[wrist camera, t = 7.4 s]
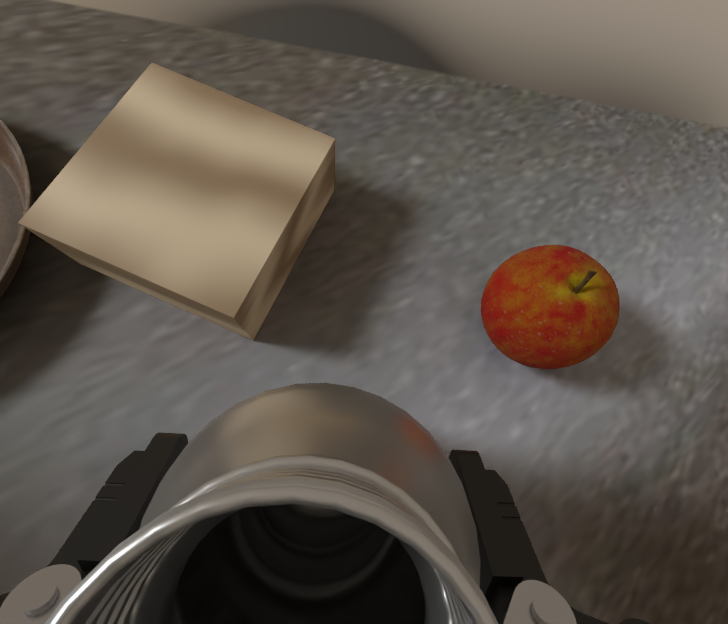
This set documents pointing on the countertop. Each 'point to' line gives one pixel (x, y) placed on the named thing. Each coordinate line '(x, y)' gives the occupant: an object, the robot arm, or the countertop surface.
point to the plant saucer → (12, 206)
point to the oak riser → (191, 199)
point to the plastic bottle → (297, 524)
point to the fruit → (550, 307)
